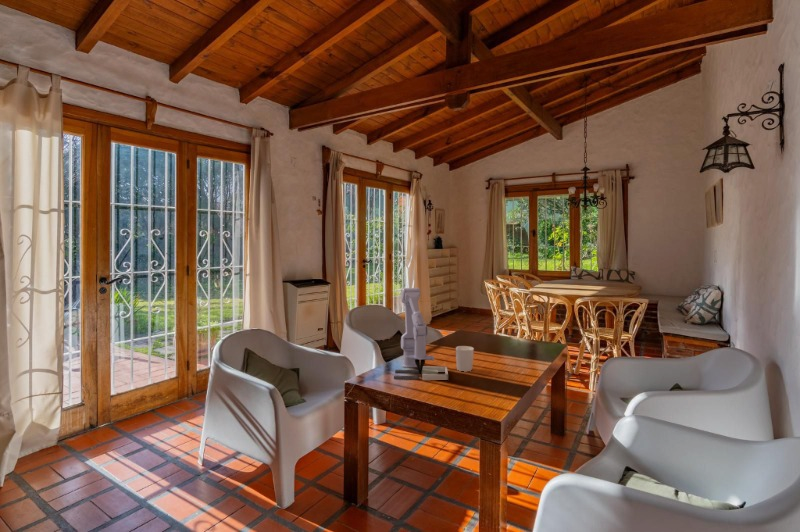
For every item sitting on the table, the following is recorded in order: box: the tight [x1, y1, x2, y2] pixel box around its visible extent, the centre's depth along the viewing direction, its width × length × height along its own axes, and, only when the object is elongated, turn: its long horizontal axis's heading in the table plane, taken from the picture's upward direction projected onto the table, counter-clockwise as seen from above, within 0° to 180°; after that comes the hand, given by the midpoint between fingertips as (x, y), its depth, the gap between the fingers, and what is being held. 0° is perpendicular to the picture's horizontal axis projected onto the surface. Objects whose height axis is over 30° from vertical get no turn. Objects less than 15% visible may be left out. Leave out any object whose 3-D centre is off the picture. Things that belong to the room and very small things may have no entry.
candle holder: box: [455, 345, 475, 373], centre depth 234 cm, size 10×10×12 cm
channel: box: [393, 369, 420, 380], centre depth 224 cm, size 12×13×1 cm
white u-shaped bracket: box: [421, 365, 449, 381], centre depth 223 cm, size 14×13×3 cm
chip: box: [430, 370, 439, 374], centre depth 223 cm, size 4×4×3 cm
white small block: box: [421, 369, 430, 375], centre depth 223 cm, size 4×4×3 cm
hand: (420, 373), depth 223 cm, fingers closed
